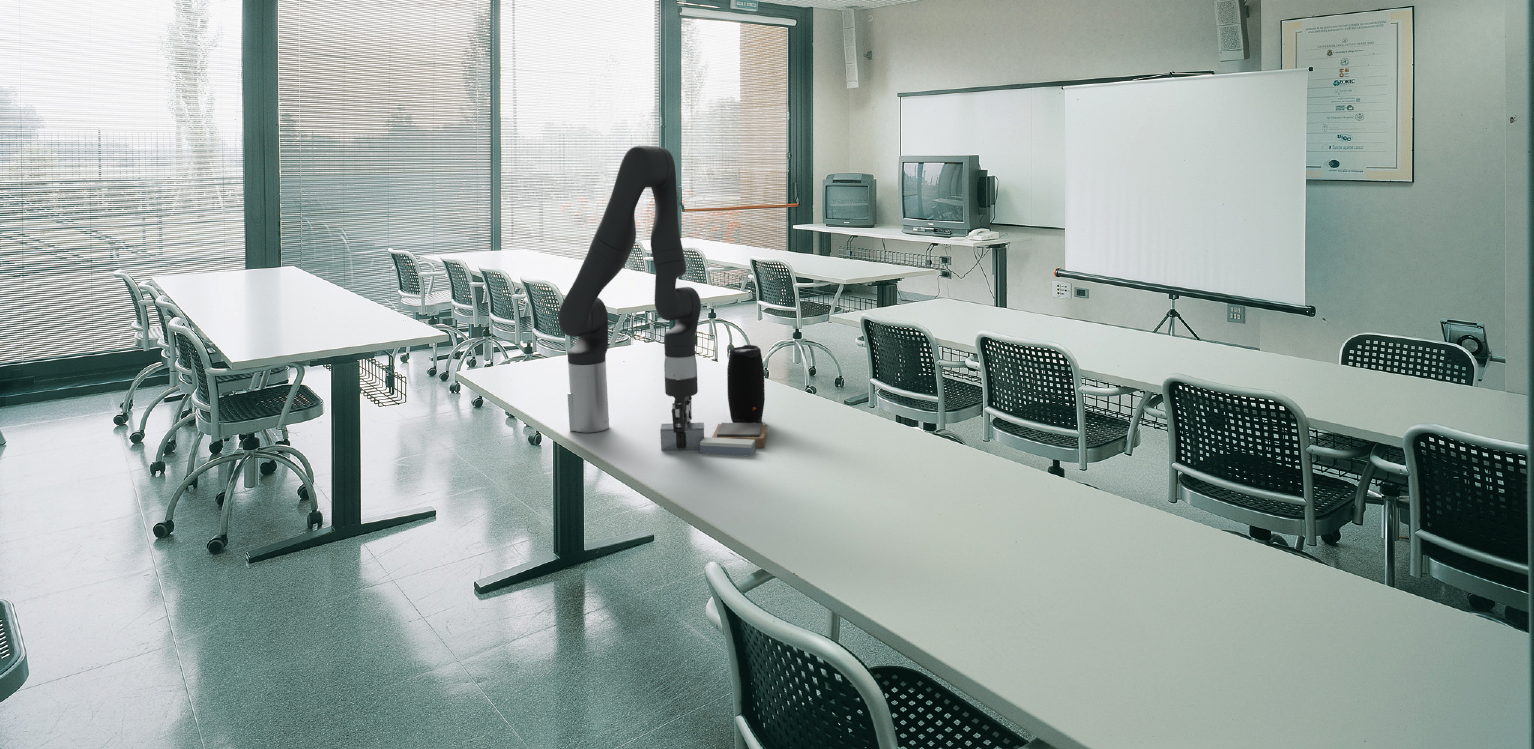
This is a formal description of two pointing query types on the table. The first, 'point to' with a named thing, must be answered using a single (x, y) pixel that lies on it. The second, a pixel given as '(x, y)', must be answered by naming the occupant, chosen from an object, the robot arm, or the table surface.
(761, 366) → the portable speaker
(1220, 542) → the table surface
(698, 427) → the block
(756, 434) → the stand
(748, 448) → the eraser
